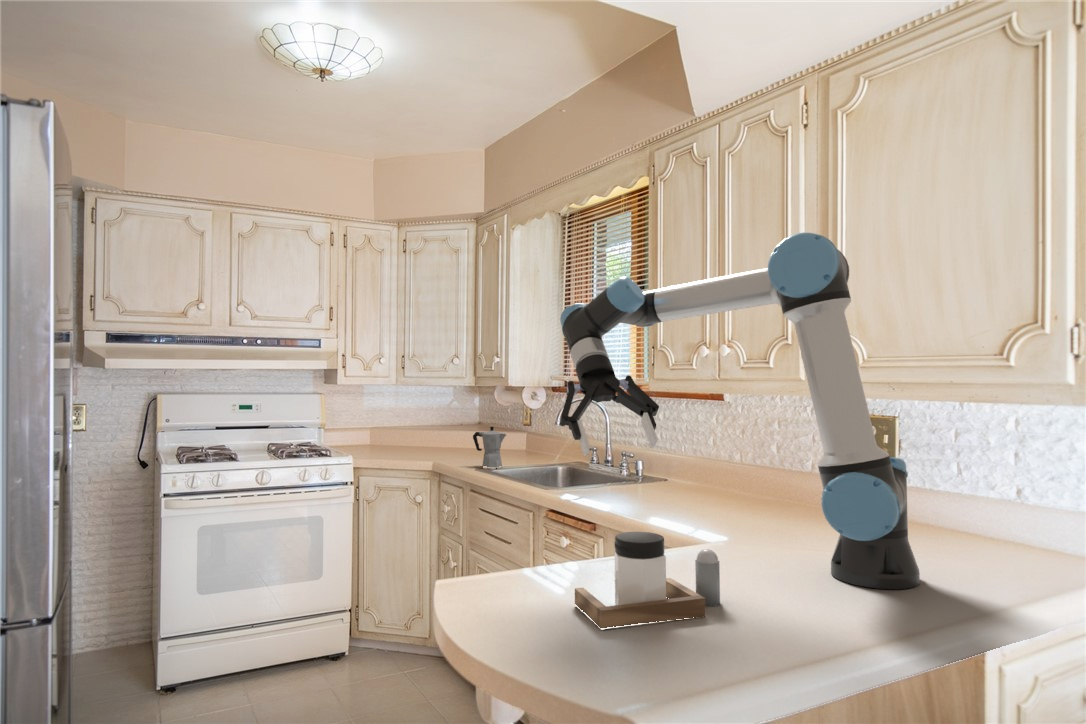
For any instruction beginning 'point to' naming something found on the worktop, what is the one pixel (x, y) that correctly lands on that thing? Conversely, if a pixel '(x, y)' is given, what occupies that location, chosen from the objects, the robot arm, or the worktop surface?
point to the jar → (639, 568)
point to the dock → (643, 607)
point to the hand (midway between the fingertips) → (621, 447)
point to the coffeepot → (490, 447)
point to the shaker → (708, 577)
